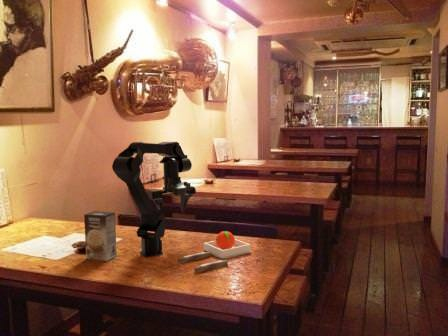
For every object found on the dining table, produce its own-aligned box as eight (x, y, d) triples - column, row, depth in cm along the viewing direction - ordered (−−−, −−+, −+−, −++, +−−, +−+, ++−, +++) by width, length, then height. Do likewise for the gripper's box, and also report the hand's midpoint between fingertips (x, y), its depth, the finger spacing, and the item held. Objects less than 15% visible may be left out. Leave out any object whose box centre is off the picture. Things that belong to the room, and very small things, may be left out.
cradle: (196, 273, 126) (196, 267, 126) (178, 262, 136) (177, 257, 136) (227, 265, 133) (227, 259, 132) (208, 255, 143) (208, 250, 142)
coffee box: (85, 259, 142) (82, 214, 140) (96, 253, 148) (94, 210, 146) (107, 261, 139) (105, 215, 137) (117, 255, 145) (115, 211, 143)
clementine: (238, 252, 144) (238, 233, 143) (219, 254, 142) (219, 234, 141) (231, 246, 151) (231, 227, 151) (213, 248, 150) (213, 229, 149)
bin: (222, 259, 139) (222, 250, 138) (203, 250, 149) (203, 242, 148) (250, 252, 145) (250, 244, 145) (230, 244, 155) (230, 237, 155)
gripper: (158, 178, 144) (159, 221, 145) (202, 174, 154) (203, 214, 156) (145, 175, 153) (147, 216, 154) (188, 171, 163) (189, 209, 165)
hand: (172, 214), depth 157 cm, fingers open, 9 cm apart
